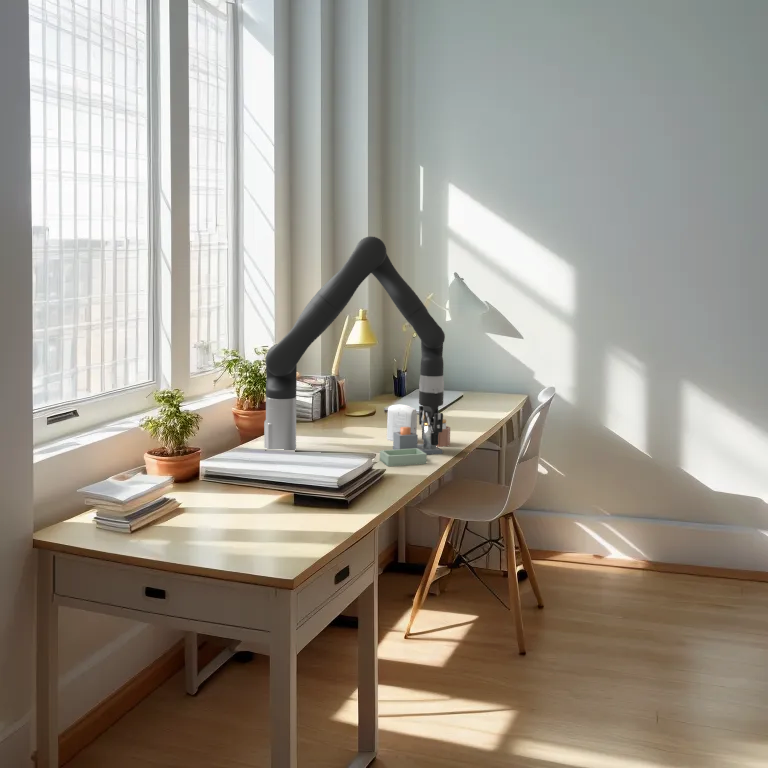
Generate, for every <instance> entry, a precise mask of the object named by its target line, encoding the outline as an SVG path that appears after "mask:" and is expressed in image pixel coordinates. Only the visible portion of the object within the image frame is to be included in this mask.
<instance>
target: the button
mask: <svg viewBox="0 0 768 768" xmlns="http://www.w3.org/2000/svg"><path fill="white" fill-rule="evenodd" d="M400 434H401V435H411V427H401V428H400Z"/></svg>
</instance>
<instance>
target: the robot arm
mask: <svg viewBox="0 0 768 768" xmlns="http://www.w3.org/2000/svg"><path fill="white" fill-rule="evenodd" d="M346 260H347V261H345V263H344V264H343V266H342V267H341V268H340V269H339V270H338V271H337V272H336V273H335V274H334V275H333V276H332V277H331V278H330V279H328V280H327V281H326V282H325V284H324V285H323V286H322V287H320V289H319V290H318V291H317V292H316V293H315V295H314V296H313V297H312V298H311V299H310V300H309V302H308V303H307V304H306V306H305V307H304V309H303V310H302V312H301V313H300V315H299V317H298V318H297V319H296V322H295V323H294V325H293V327H292V328H291V329H290V330H289V331H288V333H287V334H286V335H285V336H284V337H283V338H282V339H281V340H280V341H279V342H278V343H276V344H274V345H272V346H271V347H270V348H269V349H268V350H267V352H266V355H265V366H266V367H265V368H266V369H265V373H266V375H265V376H266V377H265V420H264V421H263V422H264V423H263V424H264V425H263V428H264V433H263V435H264V436H263V437H264V438H263V439H264V441H263V442H264V444H263V447H264V448H267V449H284V450H295V449H296V450H297V377H298V376H297V372H298V371H297V368H298V367H297V364H298V363H299V362H300V359H302V357H303V355H304V354H305V352H306V351H307V350H308V348H309V347H310V346H311V345H312V343H314V342H315V341H316V340H317V339H318V338H319V337H320V336H321V335H322V334H323V333H325V332H326V330H327V329H328V328H329V327H330V326H331V325H332V323H334V321H335V320H336V319H337V318H338V316H339V315H340V314H341V313H342V312H343V310H344V309H345V308H346V306H347V305H348V304H349V302H350V300H351V299H352V297H354V294H355V293H356V291H357V289H358V288H359V287H360V285H361V284H362V283H363V282H364V281H365V279H367V278H368V277H369V276H370V275H373V277H374V278H375V279H376V280H377V281H378V282H379V284H381V286H382V287H383V289H384V290H385V292H386V293H387V294H388V296H389V298H390V299H391V301H392V302H393V304H394V305H395V307H396V308H397V309H398V310H399V313H401V315H402V316H403V317H404V319H405V321H407V322H408V324H409V325H410V326H411V327H412V328H413V330H414V332H415V333H416V335H417V336H418V338H419V340H420V347H421V348H420V349H421V353H420V354H421V357H420V358H421V359H420V368H419V369H420V370H419V371H420V373H419V374H420V376H419V383H418V384H419V387H418V424H419V426H420V427H421V440H424V422H428V425H429V427H430V428H431V445H438V438H439V433H440V432H442V427H443V419H444V414H443V412H440V411H439V407H441V406H443V405H444V393H445V391H444V389H445V381H444V358H443V355H444V354H443V353H444V351H443V350H444V343H445V339H446V334H445V331H444V330H443V329H442V327H441V326H440V325H439V324H438V323H437V321H436V320H435V319H434V317H433V316H432V315H431V314H430V312H429V310H428V308H427V307H426V305H425V304H424V302H423V301H422V300H421V299H420V297H419V295H417V294H416V292H415V291H414V290H413V289H412V287H411V286H410V285H409V284H408V283H407V282H406V280H405V279H404V278H403V277H402V275H400V273H399V272H398V271H397V269H396V268H395V265H393V263H392V261H391V260H390V257H389V256H388V253H387V247H386V244H385V242H384V241H383V240H381V239H380V238H379V237H376V236H371V235H370V236H367V237H363V238H362V239H361V240H359V241H358V243H357V245H356V247H355V248H354V250H353V251H352V253H351V254H350V256H349V257H348V259H346ZM439 425H440V428H439ZM433 426H434V428H433Z"/></svg>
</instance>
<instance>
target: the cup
mask: <svg viewBox="0 0 768 768" xmlns="http://www.w3.org/2000/svg"><path fill="white" fill-rule="evenodd" d="M448 445H449V446H450V445H451V427H450V426H448V425H446V429H442V432H440V433H439V438H438V445H436V446H437V447H438V448H441V447H443V446H446V447H448Z"/></svg>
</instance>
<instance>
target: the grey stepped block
mask: <svg viewBox="0 0 768 768" xmlns="http://www.w3.org/2000/svg"><path fill="white" fill-rule="evenodd" d="M418 436H419V435H418V434H417V433H416V434H415V433H414V432H412V431H411V435H401V434H400V432H394V434H393V441H392V442H393V443H392V444H393V445H392V450H396V449H412V448H418V449H419V450H421V451H423V452H424V453H426V454H427V455H429V456H430V455H441V454H443V449H442V448H441V447H436V449H433V450H428V449H424V448H423V443H422V444H421V443H420V444H419V443H418V441H419V440H418Z"/></svg>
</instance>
